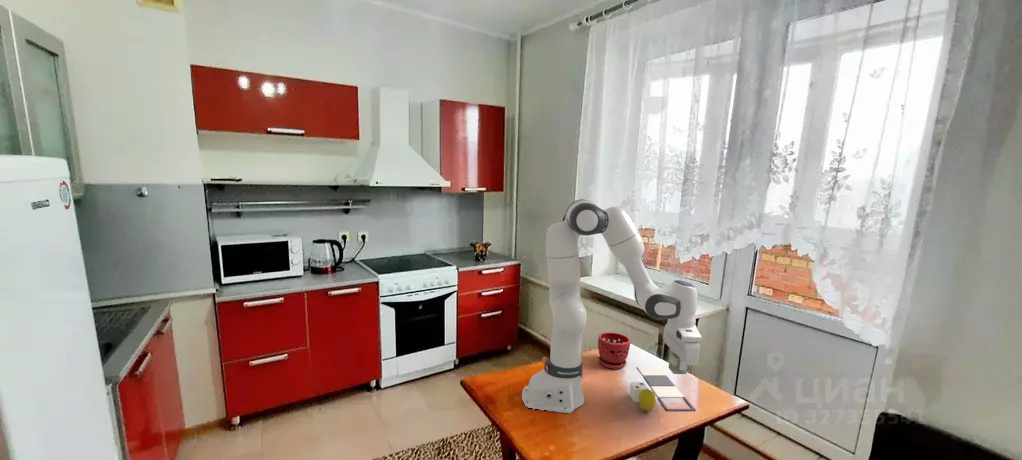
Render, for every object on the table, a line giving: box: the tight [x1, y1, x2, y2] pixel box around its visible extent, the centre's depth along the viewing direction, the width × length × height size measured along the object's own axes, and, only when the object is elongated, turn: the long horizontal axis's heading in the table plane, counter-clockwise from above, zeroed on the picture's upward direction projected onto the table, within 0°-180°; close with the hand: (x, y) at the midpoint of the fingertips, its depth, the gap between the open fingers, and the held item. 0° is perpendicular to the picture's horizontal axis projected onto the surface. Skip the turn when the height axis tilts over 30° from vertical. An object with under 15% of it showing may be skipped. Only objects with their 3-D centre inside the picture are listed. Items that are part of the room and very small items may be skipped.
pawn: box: [668, 351, 688, 375], centre depth 142 cm, size 4×4×9 cm
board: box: [636, 366, 696, 412], centre depth 156 cm, size 10×32×1 cm, turn 1°
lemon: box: [638, 388, 657, 412], centre depth 139 cm, size 6×6×8 cm
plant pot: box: [597, 331, 631, 370], centre depth 173 cm, size 13×13×12 cm
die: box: [629, 381, 649, 403], centre depth 147 cm, size 5×5×5 cm
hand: (677, 365), depth 142 cm, fingers closed on pawn, 4 cm apart
